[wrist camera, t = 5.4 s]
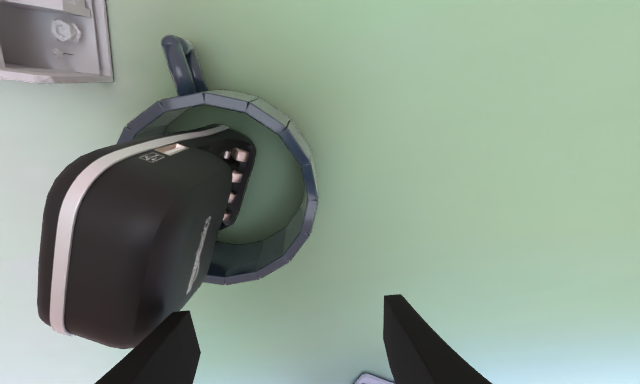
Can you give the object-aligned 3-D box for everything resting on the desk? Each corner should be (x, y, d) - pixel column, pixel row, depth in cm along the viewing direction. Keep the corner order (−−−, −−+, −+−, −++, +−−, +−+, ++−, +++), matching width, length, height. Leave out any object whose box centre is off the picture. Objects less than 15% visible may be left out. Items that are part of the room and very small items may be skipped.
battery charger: (243, 234, 21) (137, 388, 10) (191, 215, 21) (24, 350, 10) (274, 140, 19) (179, 205, 8) (215, 117, 18) (35, 152, 8)
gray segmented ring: (327, 236, 22) (331, 266, 18) (179, 262, 22) (154, 298, 18) (286, 22, 17) (280, 7, 13) (96, 60, 17) (40, 55, 14)
